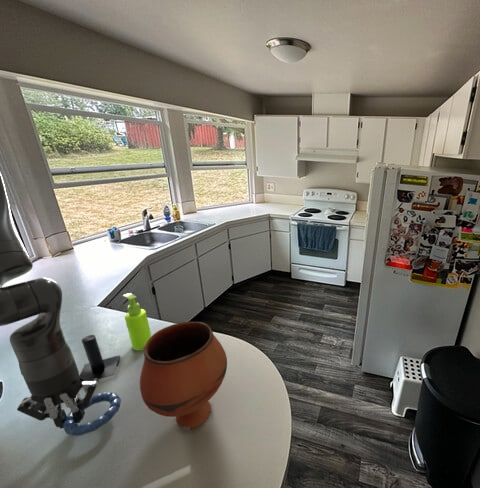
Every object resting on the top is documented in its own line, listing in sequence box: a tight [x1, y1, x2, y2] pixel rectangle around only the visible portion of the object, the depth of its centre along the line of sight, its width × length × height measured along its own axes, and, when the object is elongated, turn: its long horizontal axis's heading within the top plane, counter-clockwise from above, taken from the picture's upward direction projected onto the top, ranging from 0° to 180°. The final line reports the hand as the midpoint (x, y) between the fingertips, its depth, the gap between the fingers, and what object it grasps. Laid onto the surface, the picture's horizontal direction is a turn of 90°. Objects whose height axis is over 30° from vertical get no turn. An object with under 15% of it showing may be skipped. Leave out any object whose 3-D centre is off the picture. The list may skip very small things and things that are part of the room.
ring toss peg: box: [79, 334, 121, 381], centre depth 77 cm, size 9×9×13 cm
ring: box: [62, 391, 122, 437], centre depth 61 cm, size 10×10×2 cm
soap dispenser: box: [122, 292, 152, 351], centre depth 87 cm, size 6×7×20 cm
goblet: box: [139, 321, 228, 430], centre depth 63 cm, size 19×19×25 cm
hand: (71, 422), depth 60 cm, fingers closed on ring, 2 cm apart
